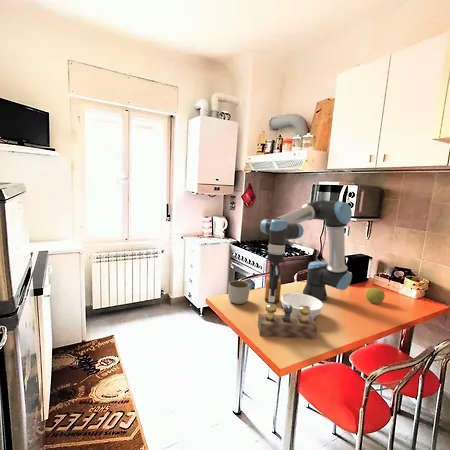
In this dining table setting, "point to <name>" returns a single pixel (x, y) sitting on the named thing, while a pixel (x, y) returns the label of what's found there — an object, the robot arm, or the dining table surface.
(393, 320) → the dining table surface
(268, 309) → the knob
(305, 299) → the bowl
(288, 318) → the pot knob
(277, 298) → the canister
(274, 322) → the mount
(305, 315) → the knob
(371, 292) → the fruit
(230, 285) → the planter
